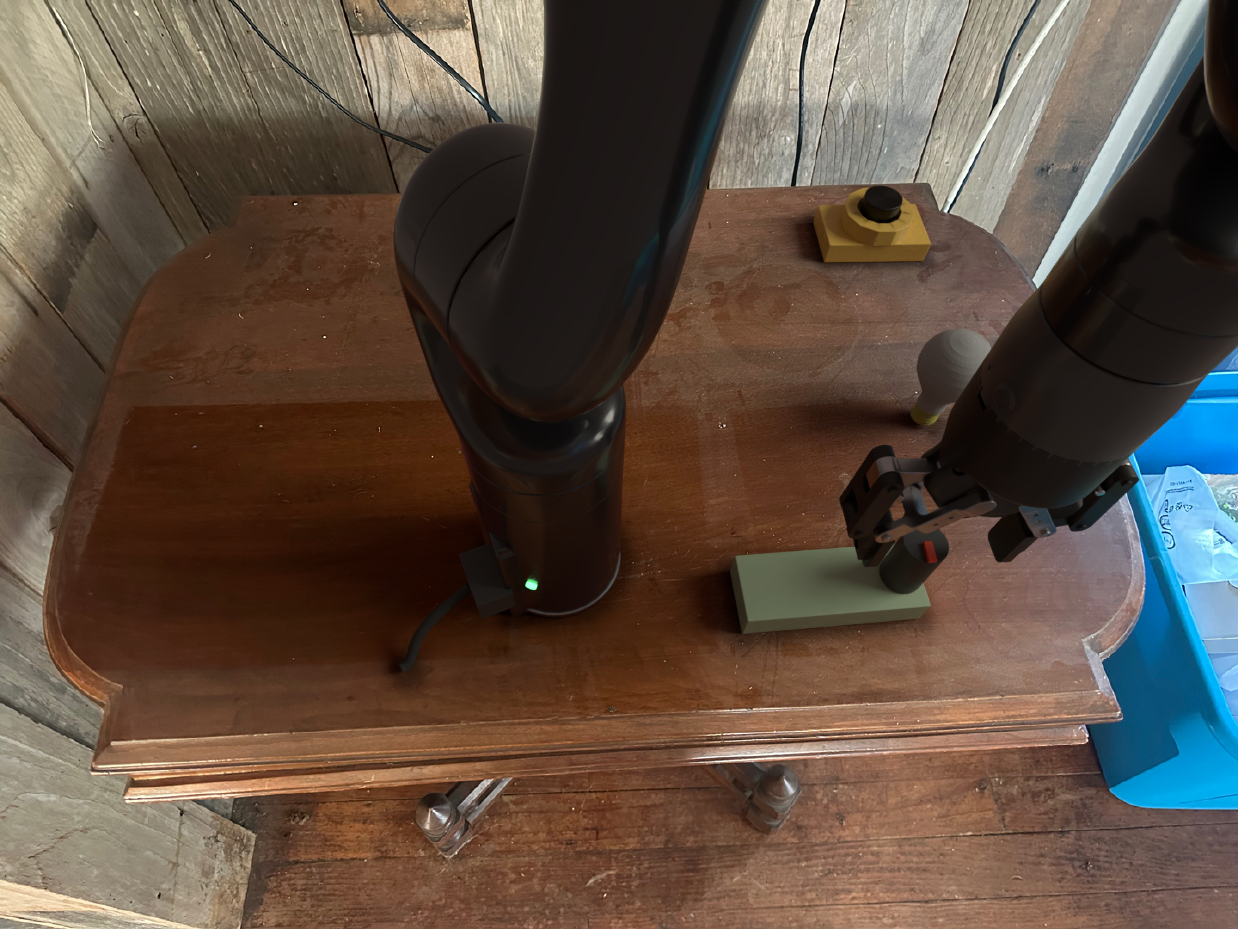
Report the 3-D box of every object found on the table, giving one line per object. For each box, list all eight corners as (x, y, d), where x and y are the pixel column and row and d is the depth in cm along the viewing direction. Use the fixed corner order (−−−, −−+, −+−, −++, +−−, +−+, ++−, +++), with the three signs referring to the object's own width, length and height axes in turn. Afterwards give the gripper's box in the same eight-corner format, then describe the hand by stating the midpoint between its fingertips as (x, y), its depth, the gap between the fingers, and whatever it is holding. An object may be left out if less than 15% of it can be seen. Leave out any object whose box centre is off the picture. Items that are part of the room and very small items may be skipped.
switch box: (824, 264, 74) (835, 231, 71) (812, 220, 77) (822, 187, 74) (923, 263, 74) (939, 230, 71) (907, 219, 78) (921, 186, 74)
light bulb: (955, 451, 62) (1010, 374, 54) (888, 440, 63) (933, 361, 54) (952, 400, 65) (1005, 319, 57) (889, 390, 65) (931, 308, 57)
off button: (864, 224, 72) (869, 209, 70) (856, 200, 74) (861, 185, 72) (900, 224, 72) (907, 209, 70) (891, 199, 74) (897, 184, 72)
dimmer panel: (741, 634, 53) (747, 621, 51) (729, 570, 56) (734, 555, 54) (918, 619, 54) (931, 606, 52) (898, 556, 57) (909, 541, 55)
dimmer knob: (874, 555, 54) (899, 520, 49) (916, 554, 54) (944, 519, 50) (884, 594, 52) (910, 562, 48) (926, 593, 52) (956, 561, 48)
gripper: (1179, 326, 36) (1018, 497, 50) (894, 331, 36) (809, 503, 49) (1260, 454, 32) (1061, 603, 46) (939, 462, 31) (833, 611, 45)
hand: (931, 551), depth 47 cm, fingers open, 8 cm apart
